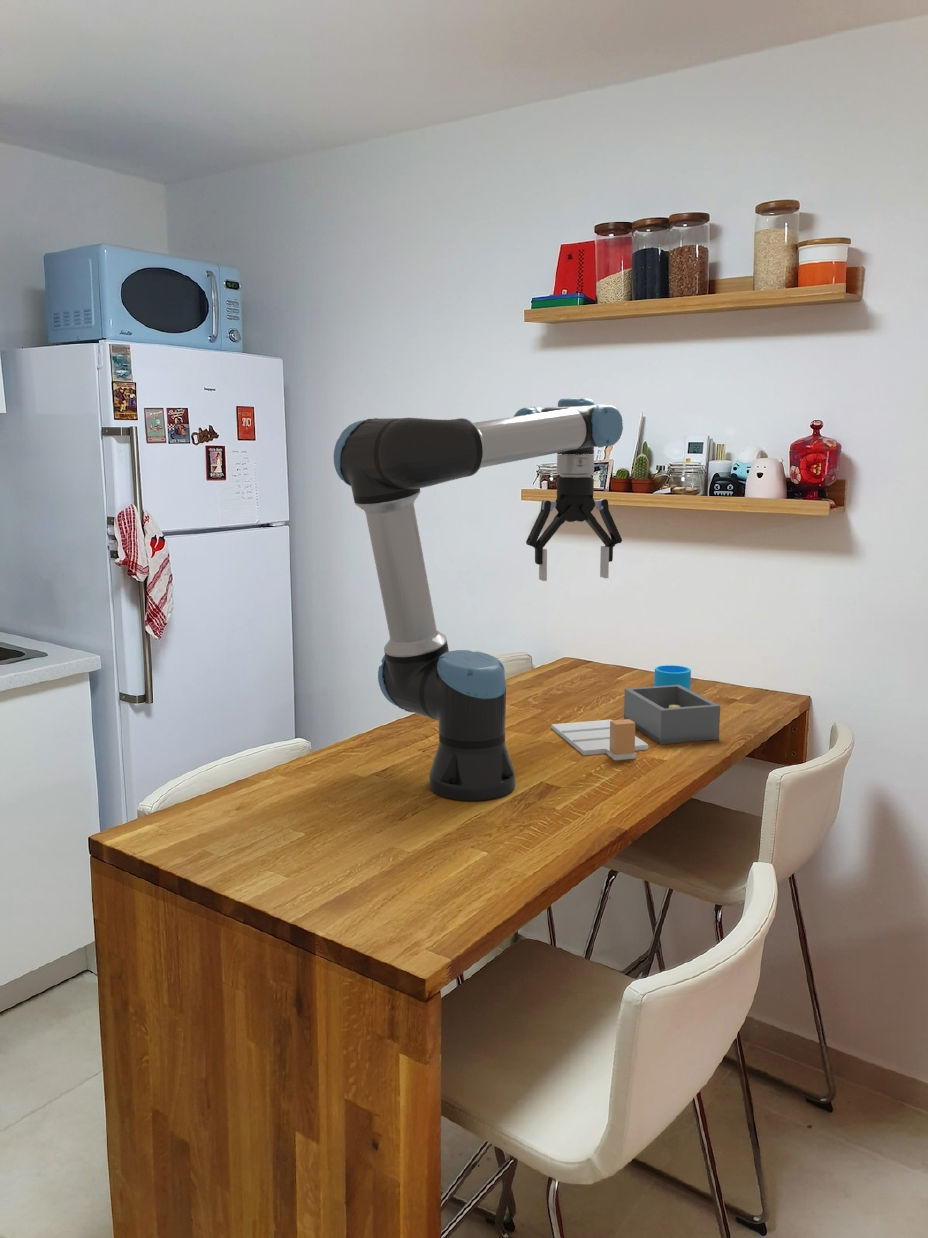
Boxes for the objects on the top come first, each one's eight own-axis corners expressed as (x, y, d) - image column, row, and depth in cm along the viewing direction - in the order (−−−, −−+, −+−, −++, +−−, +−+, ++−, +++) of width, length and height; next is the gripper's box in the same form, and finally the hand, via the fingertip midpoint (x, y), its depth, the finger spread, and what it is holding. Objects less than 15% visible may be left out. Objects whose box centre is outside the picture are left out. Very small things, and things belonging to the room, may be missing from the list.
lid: (592, 762, 181) (592, 727, 180) (551, 728, 203) (551, 697, 202) (657, 756, 185) (658, 721, 183) (611, 723, 207) (611, 692, 205)
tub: (660, 744, 192) (661, 710, 191) (623, 719, 209) (624, 688, 208) (718, 739, 195) (720, 705, 194) (678, 715, 212) (679, 684, 211)
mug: (684, 709, 217) (685, 674, 215) (649, 705, 221) (650, 671, 219) (698, 697, 227) (699, 664, 226) (664, 693, 231) (665, 660, 229)
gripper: (522, 477, 189) (522, 583, 193) (639, 475, 195) (636, 578, 199) (511, 476, 196) (511, 578, 200) (624, 474, 202) (622, 574, 206)
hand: (573, 578), depth 199 cm, fingers open, 13 cm apart
